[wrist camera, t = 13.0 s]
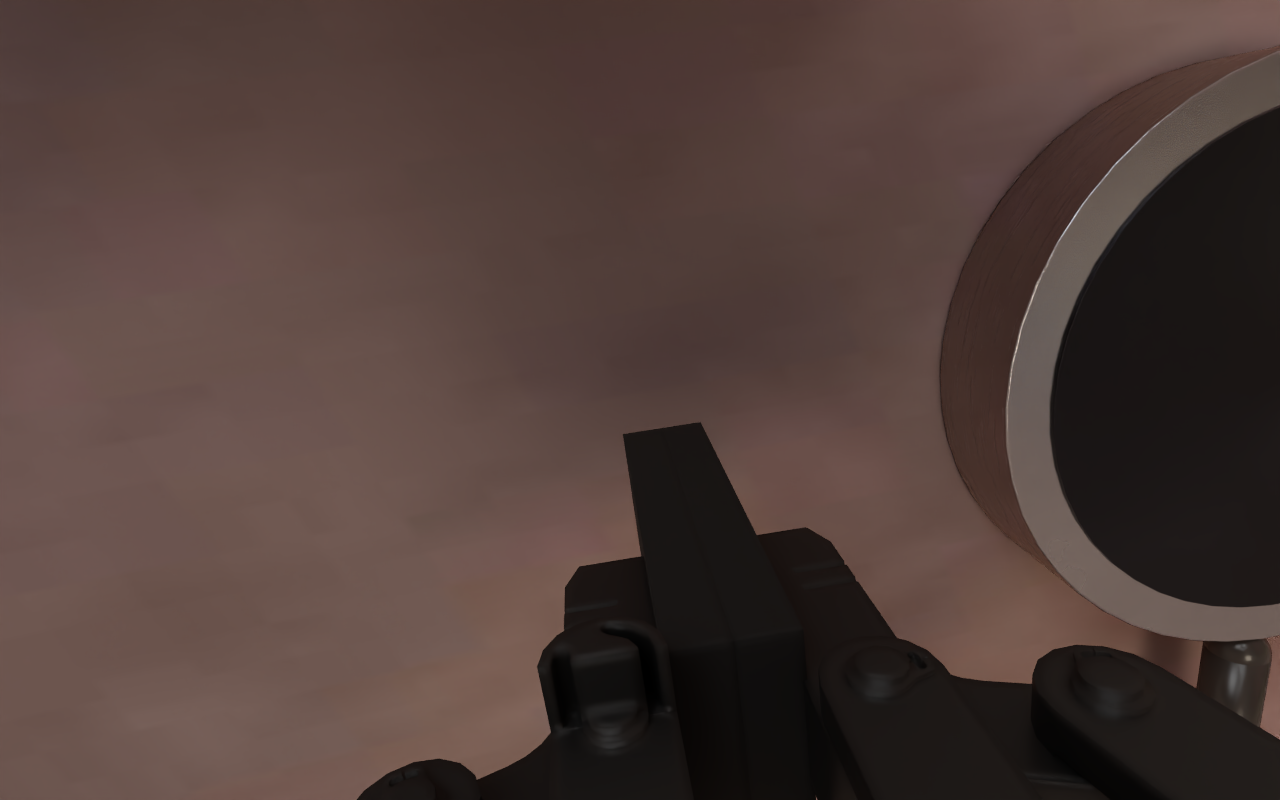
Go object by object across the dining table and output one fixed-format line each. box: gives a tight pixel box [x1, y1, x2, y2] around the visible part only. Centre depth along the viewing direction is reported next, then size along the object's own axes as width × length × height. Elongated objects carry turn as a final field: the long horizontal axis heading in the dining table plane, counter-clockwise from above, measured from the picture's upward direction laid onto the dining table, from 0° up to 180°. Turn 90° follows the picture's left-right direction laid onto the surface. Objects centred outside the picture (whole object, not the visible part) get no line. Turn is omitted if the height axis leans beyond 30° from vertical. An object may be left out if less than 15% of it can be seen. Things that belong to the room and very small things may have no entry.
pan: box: [940, 46, 1280, 727], centre depth 21 cm, size 24×16×4 cm, turn 6°
